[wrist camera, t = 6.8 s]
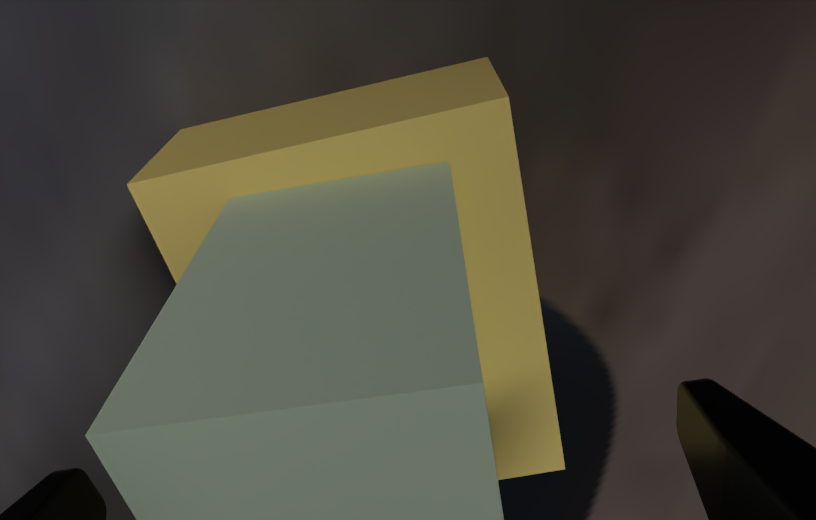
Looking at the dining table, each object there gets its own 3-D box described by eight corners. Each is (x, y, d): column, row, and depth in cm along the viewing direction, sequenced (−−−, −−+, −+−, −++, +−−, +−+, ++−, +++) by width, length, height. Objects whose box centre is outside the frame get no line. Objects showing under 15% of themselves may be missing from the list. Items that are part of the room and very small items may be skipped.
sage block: (449, 160, 9) (481, 382, 5) (497, 473, 13) (540, 762, 9) (229, 197, 10) (85, 435, 5) (333, 492, 13) (296, 780, 9)
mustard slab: (485, 52, 12) (508, 96, 9) (538, 373, 15) (565, 469, 13) (185, 124, 12) (126, 184, 10) (309, 414, 16) (290, 513, 14)
